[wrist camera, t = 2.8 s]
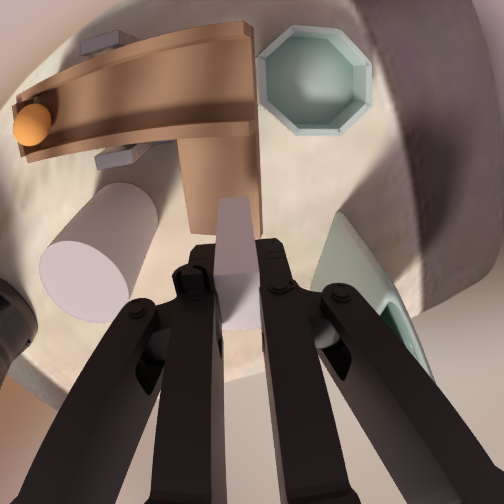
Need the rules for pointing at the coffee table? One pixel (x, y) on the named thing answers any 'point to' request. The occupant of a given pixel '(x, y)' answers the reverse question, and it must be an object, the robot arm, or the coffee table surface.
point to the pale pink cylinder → (100, 253)
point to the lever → (167, 111)
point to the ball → (32, 124)
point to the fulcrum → (122, 152)
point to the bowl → (314, 81)
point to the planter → (366, 282)
